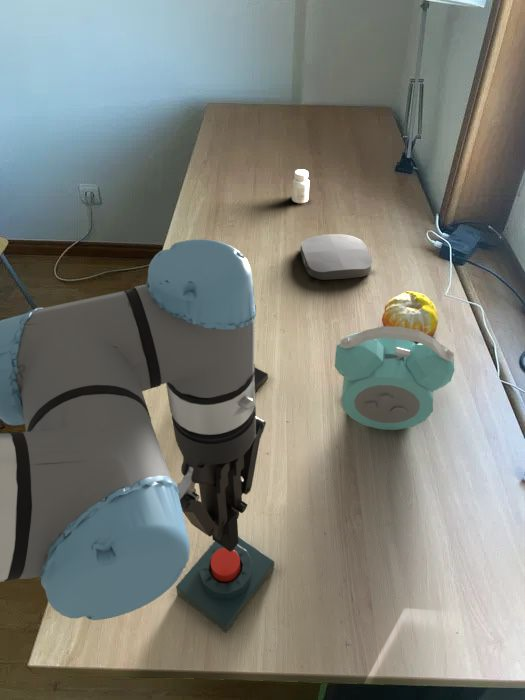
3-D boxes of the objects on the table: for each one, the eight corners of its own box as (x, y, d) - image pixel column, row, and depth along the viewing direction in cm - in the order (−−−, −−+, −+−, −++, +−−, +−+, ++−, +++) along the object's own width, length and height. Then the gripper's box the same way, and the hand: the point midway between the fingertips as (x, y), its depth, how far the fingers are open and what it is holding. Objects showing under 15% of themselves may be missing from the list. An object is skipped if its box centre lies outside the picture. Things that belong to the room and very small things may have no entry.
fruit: (375, 307, 115) (392, 276, 109) (422, 321, 116) (441, 291, 111) (379, 342, 106) (399, 310, 101) (429, 357, 108) (451, 326, 103)
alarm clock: (432, 401, 96) (461, 309, 83) (435, 445, 89) (467, 352, 76) (331, 388, 98) (342, 296, 85) (325, 430, 91) (337, 337, 78)
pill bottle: (311, 200, 149) (313, 172, 144) (300, 205, 147) (301, 177, 142) (299, 194, 152) (301, 166, 146) (288, 199, 149) (289, 171, 144)
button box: (226, 633, 68) (225, 619, 65) (177, 594, 71) (174, 579, 69) (274, 569, 74) (275, 554, 71) (226, 536, 77) (225, 520, 75)
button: (227, 588, 68) (227, 581, 67) (205, 571, 70) (204, 564, 69) (245, 565, 70) (245, 558, 69) (223, 549, 72) (223, 542, 71)
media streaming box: (375, 277, 123) (377, 266, 121) (309, 282, 122) (310, 271, 120) (357, 242, 134) (359, 231, 132) (297, 246, 132) (297, 235, 130)
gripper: (197, 477, 44) (214, 605, 60) (289, 381, 52) (283, 517, 68) (130, 433, 48) (163, 566, 64) (226, 349, 55) (234, 486, 71)
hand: (225, 540), depth 66 cm, fingers closed
